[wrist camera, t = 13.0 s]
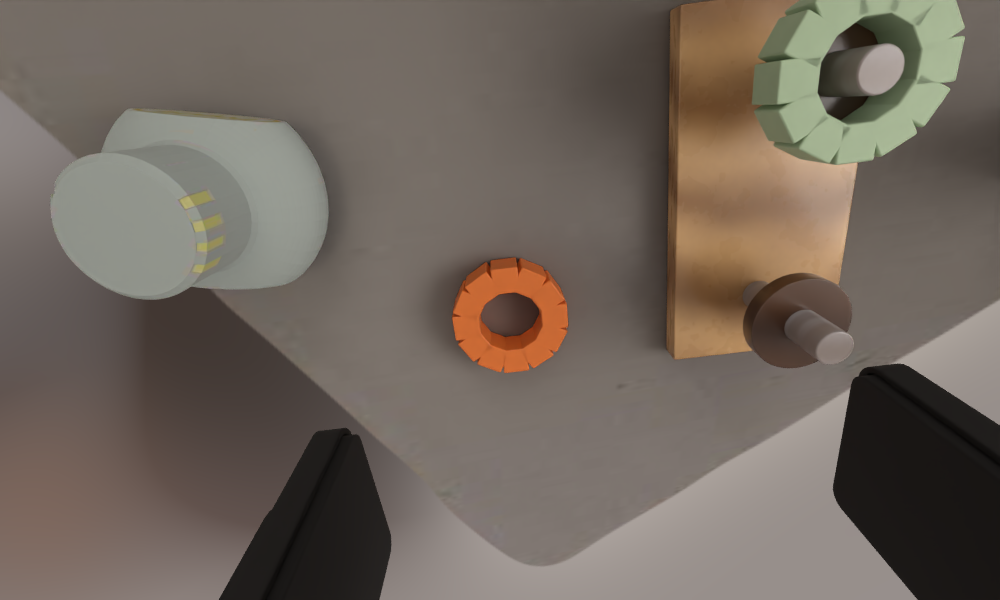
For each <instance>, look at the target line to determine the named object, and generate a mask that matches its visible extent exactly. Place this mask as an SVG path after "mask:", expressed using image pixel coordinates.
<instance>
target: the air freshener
mask: <svg viewBox="0 0 1000 600" xmlns="http://www.w3.org/2000/svg"><path fill="white" fill-rule="evenodd" d="M54 185H55V191H54V194H51V199H50V208H51V216H52V218H51V220H52V223H53V227H54V231H55V233H56V236H57V238H58V240H59V242H60V244H61V246H62V248H63V249H64V251H65V252H66V254H67V255H68V256H69V258H70V259H71V260H72V261H73V263H74V264H75V265H77V267H78V268H80V269H81V270H82V271H83V272H84V273H85V274H86V275H88V276H89V277H90V278H91V279H93V280H94V281H95V282H97V283H99V284H100V285H102V286H104V287H105V288H107V289H109V290H112V291H114V292H116V293H119V294H121V295H125V296H128V297H132V298H138V299H162V298H168V297H171V296H173V295H177V294H179V293H181V292H182V291H184V290H186V289H188V288H189V287H199V288H210V289H257V288H267V287H274V286H280V285H284V284H288V283H290V282H293V281H294V280H296V279H297V278H298V277H299V276H301V275H302V274H303V273H304V272H305V271H306V270H307V269H308V267H309V266H310V265H311V264H312V262H313V261H314V260H315V258H316V256H317V254H318V252H319V251H320V249H321V247H322V244H323V241H324V238H325V235H326V232H327V225H328V217H329V208H328V196H327V191H326V186H325V181H324V179H323V176H322V173H321V171H320V168H319V166H318V163H317V162H316V160H315V158H314V156H313V155H312V153H311V151H310V149H309V148H308V146H307V145H306V144H305V142H304V141H303V140H302V138H301V137H300V136H299V135H298V133H297V132H296V131H295V130H294V129H293V128H292V127H291V126H290V125H289V124H288V123H287V122H285V121H281V120H274V119H266V118H258V117H249V116H239V115H228V114H217V113H205V112H192V111H179V110H163V109H142V108H129V109H127V110H126V111H125V112H124V113H123V114H122V115H121V116H120V117H119V118H118V119H117V120H116V122H115V123H114V125H113V127H112V128H111V130H110V132H109V133H108V135H107V137H106V140H105V143H104V146H103V149H102V151H101V153H98V154H92V155H87V156H85V157H82V158H80V159H77V160H76V161H74V162H73V163H71V164H70V165H68V166H67V167H66V168H65V169H64V170H63V171H62V172H61V173H60V175H59V176H58V178H57V180H56V182H55V183H54Z"/></svg>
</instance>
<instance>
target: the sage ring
mask: <svg viewBox="0 0 1000 600" xmlns="http://www.w3.org/2000/svg"><path fill="white" fill-rule="evenodd" d="M785 14H786V16H785V17H782V18H780V19H778V21H777V23H776V25H775V26H774V28H773V30H772V32H771V34H770V35H769V37H768V39H767V41H766V43H765V44H764V46H763V48H762V50H761V52H760V53H759V55H758V58H759V59H761V60H763V61H765V62H767V63H762V64H756V65H755V67H754V81H753V95H752V105H761V106H760V107H759V108H757V109H756V110H755V111H754V113H755V115H756V117H757V119H758V121H759V123H760V125H761V127H762V129H763V131H764V133H765V135H766V137H767V139H768V140H769V141H774V144H773V145H774V147H776V148H778V149H780V150H782V151H784V152H786V153H788V154H791V155H793V156H795V157H797V158H799V159H802V160H808V161H814V162H820V163H826V164H833V165H841V164H848V163H856V162H864V161H871V160H873V159H874V156H876V157H881V156H883V155H885V154H886V153H888V152H889V151H891V150H893V149H894V148H896V147H897V146H899V145H900V144H902V143H903V142H905V141H906V140H908V139H910V138H911V137H913V136H914V135H916V134H917V131H916V128H915V127H924V126H925V125H926V123H927V122H928V121H929V119H930V118H931V116H932V115H933V114H934V112H935V111H936V109H937V108H938V107H939V105H940V104H941V102H942V101H943V100H944V98H945V97H946V95H947V94H948V92H949V91H950V88H948V87H947V86H945V85H943V84H941V83H945V82H953V81H955V80H956V75H957V71H958V66H959V62H960V57H961V52H962V48H963V43H964V39H965V36H958V37H952V36H954V35H955V34H957V33H958V32H960V31H961V30H963V29H964V23H963V20H962V17H961V14H960V11H959V8H958V5H957V2H956V0H799V1H798V2H796V3H795V4H794V5H792V6H791V7H790V8H788V9H787V10H786V11H785ZM854 23H858V24H859V25H861V26H863V27H865V28H866V29H868V30H870V31H872V32H874V34H875V36H876V39H877V42H878V44H883V43H890V44H893V45H896V46H897V47H899V48H900V49H901V51H902V53H903V55H904V60H905V64H904V70H903V73H902V75H901V77H900V79H899V80H898V82H897V83H896V84H895V85H894V86H893V87H892V88H891V89H889V90H888V91H886V92H885V93H883V94H880V95H876V96H869V97H868V98H867V100H866V102H865V103H864V105H863V106H861V107H860V108H858V109H857V110H855V111H854V112H852V113H851V114H849V115H848V116H846V117H845V118H843V119H842V120H838V119H836V118H834V117H832V116H830V115H828V114H827V113H826V110H825V108H824V106H823V104H822V102H821V99H820V97H819V95H818V93H817V92H818V84H819V75H820V67H821V62H822V60H823V58H824V57H825V55H826V54H827V52H828V50H829V49H830V47H831V45H832V44H833V42H834V40H835V39H836V37H837V36H838V35H839V34H840V33H842V32H843V31H845V30H846V29H847V28H849V27H850V26H852V25H853V24H854Z"/></svg>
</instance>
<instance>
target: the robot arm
mask: <svg viewBox="0 0 1000 600" xmlns="http://www.w3.org/2000/svg"><path fill="white" fill-rule="evenodd" d="M833 492H834V496H835V498H836V501H837V503H838V504H839V506H840V508H841V509H842V510H843V511H844V512H845V514H846V515H847V516H848V517H849V518H850V519H851V521H852V522H853V523H854V524H855V526H856V527H857V528H858V529H859V530H860V532H861V533H862V534H863V535H864V536H865V537H866V539H867V540H868V541H869V542H870V543H871V545H872V546H873V547H874V548H875V549H876V551H878V553H879V554H880V555H881V556H882V558H883V559H884V560H885V561H886V562H887V564H888V565H889V566H890V567H891V568H892V569H893V571H894V572H895V573H896V574H897V576H898V577H899V578H900V579H901V580H902V582H903V583H904V584H905V585H906V586H907V588H908V589H909V590H910V591H911V592H912V593H913V595H914V596H915V597H916V598H917V599H918V600H1000V425H998V424H997V423H995V422H994V421H992V420H990V419H989V418H987V417H986V416H984V415H983V414H981V413H980V412H978V411H977V410H975V409H973V408H972V407H970V406H969V405H967V404H966V403H964V402H963V401H961V400H960V399H958V398H957V397H955V396H954V395H952V394H950V393H949V392H947V391H946V390H944V389H943V388H941V387H940V386H938V385H937V384H935V383H933V382H932V381H930V380H929V379H927V378H926V377H924V376H923V375H921V374H919V373H918V372H917V371H915V370H913V369H912V368H910V367H909V366H906V365H904V364H891V365H882V366H873V367H867V368H864V369H863V370H862V371H861V372H860V374H859V376H858V377H855V378H854V379H853V381H852V384H851V389H850V395H849V400H848V406H847V412H846V417H845V422H844V428H843V434H842V439H841V445H840V450H839V456H838V461H837V467H836V473H835V478H834V484H833ZM390 552H391V534H390V531H389V527H388V524H387V521H386V518H385V515H384V511H383V508H382V505H381V502H380V499H379V495H378V492H377V489H376V486H375V483H374V480H373V476H372V473H371V470H370V467H369V464H368V460H367V457H366V454H365V451H364V448H363V445H362V441H361V439H360V437H359V436H358V435H352V434H351V432H350V431H349V430H348V429H347V428H341V429H332V430H324V431H318V432H316V433H315V434H314V435H313V437H312V439H311V440H310V442H309V444H308V446H307V448H306V449H305V451H304V453H303V455H302V457H301V459H300V460H299V462H298V464H297V466H296V468H295V469H294V471H293V473H292V475H291V477H290V478H289V480H288V482H287V484H286V486H285V487H284V489H283V491H282V493H281V495H280V496H279V498H278V500H277V502H276V504H275V505H274V507H273V509H272V510H271V511H270V512H269V513H268V514H267V516H266V517H265V518H264V520H263V522H262V524H261V525H260V527H259V529H258V531H257V532H256V534H255V536H254V538H253V540H252V541H251V543H250V545H249V547H248V549H247V551H246V552H245V554H244V556H243V557H242V559H241V561H240V563H239V565H238V566H237V568H236V570H235V572H234V573H233V575H232V577H231V579H230V581H229V582H228V584H227V586H226V588H225V590H224V591H223V593H222V595H221V597H220V598H219V600H379V598H380V595H381V590H382V586H383V582H384V578H385V573H386V569H387V565H388V561H389V557H390Z"/></svg>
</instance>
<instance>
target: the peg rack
mask: <svg viewBox="0 0 1000 600" xmlns="http://www.w3.org/2000/svg"><path fill="white" fill-rule="evenodd" d="M798 1H799V0H711V1H703V2H696V3H689V4H682V5H680V6H678V7H676V8H674V9H672V10H671V11H670V87H669V175H668V262H667V350H668V352H669V353H670V355H671V356H672V357H673V359H674V360H677V359H685V358H694V357H702V356H711V355H719V354H728V353H737V352H745V351H754V352H755V353H756V354H757V355H758V356H760V357H761V358H762V359H763V360H764V361H766V362H767V363H769V364H771V365H774V366H777V367H782V368H798V367H803V366H807V365H810V364H812V363H815V362H817V361H819V362H821V363H823V364H827V365H833V364H837V363H840V362H842V361H843V360H845V359H846V358H847V357H848V356H849V355H850V354H851V352H852V350H853V347H854V341H853V338H852V337H851V335H850V334H848V333H847V331H848V329H849V326H850V323H851V318H852V307H851V302H850V300H849V297H848V296H847V294H846V293H845V291H844V290H843V289H842V288H841V287H839V286H838V285H839V279H840V273H841V267H842V260H843V254H844V248H845V241H846V235H847V229H848V222H849V216H850V210H851V204H852V197H853V191H854V185H855V178H856V172H857V166H858V162H856V163H848V164H841V165H833V164H826V163H820V162H814V161H808V160H802V159H799V158H797V157H795V156H793V155H791V154H788V153H786V152H784V151H782V150H780V149H778V148H776V147H774V145H773V144H774V141H769V140H768V139H767V137H766V135H765V133H764V131H763V129H762V127H761V125H760V123H759V121H758V119H757V117H756V115H755V113H754V111H755V110H756V109H757V108H759V107H760V106H761V105H752V95H753V81H754V67H755V65H756V64H762V63H767V62H765V61H763V60H761V59H759V58H758V55H759V53H760V52H761V50H762V48H763V46H764V44H765V43H766V41H767V39H768V37H769V35H770V34H771V32H772V30H773V28H774V26H775V25H776V23H777V21H778V19H780V18H782V17H785V16H786V14H785V11H786V10H787V9H788V8H790V7H791V6H792V5H794V4H795V3H796V2H798ZM904 64H905V60H904V55H903V53H902V51H901V49H900V48H899V47H897V46H896V45H893V44H890V43H883V44H878V42H877V39H876V36H875V34H874V32H872V31H870V30H868V29H866V28H865V27H863V26H861V25H859V24H858V23H854V24H853V25H852V26H850V27H849V28H847V29H846V30H845V31H843V32H842V33H840V34H839V35H838V36H837V37H836V39H835V40H834V42H833V44H832V45H831V47H830V49H829V50H828V52H827V54H826V55H825V57H824V58H823V60H822V62H821V67H820V75H819V84H818V92H817V93H818V95H819V97H820V99H821V102H822V104H823V106H824V108H825V110H826V113H827V114H828V115H830V116H832V117H834V118H836V119H838V120H842V119H843V118H845V117H846V116H848V115H849V114H851V113H852V112H854V111H855V110H857V109H858V108H860V107H861V106H863V105H864V103H865V102H866V100H867V98H868V97H869V96H876V95H880V94H883V93H885V92H886V91H888V90H889V89H891V88H892V87H893V86H894V85H895V84H896V83H897V82H898V80H899V79H900V77H901V75H902V73H903V70H904Z"/></svg>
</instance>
